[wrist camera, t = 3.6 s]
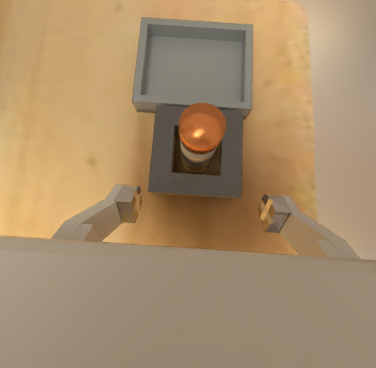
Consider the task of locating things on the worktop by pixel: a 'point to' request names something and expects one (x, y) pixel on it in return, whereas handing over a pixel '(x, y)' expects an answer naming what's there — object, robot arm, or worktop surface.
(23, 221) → the worktop surface
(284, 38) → the worktop surface
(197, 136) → the pin
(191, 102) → the tray
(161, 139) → the receiver
